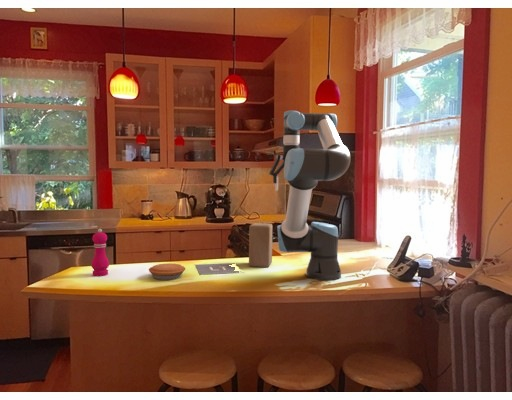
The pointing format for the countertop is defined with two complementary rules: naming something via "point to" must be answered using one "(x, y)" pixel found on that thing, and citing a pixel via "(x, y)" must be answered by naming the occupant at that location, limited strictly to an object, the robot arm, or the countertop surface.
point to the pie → (167, 271)
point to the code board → (215, 268)
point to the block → (260, 244)
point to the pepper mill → (100, 254)
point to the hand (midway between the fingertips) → (290, 190)
